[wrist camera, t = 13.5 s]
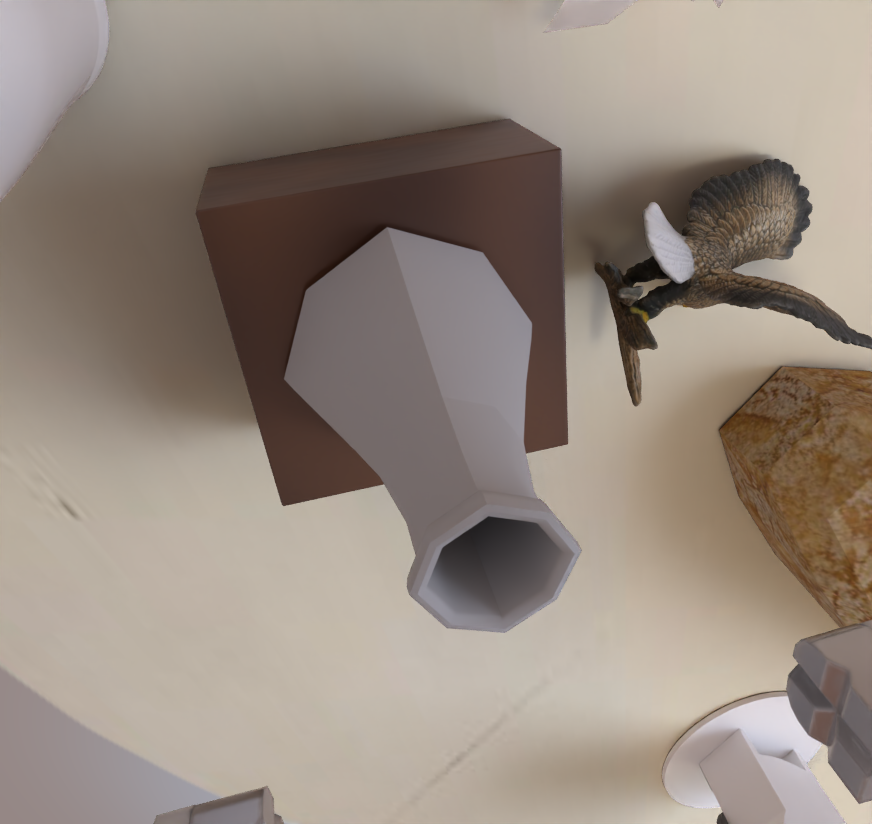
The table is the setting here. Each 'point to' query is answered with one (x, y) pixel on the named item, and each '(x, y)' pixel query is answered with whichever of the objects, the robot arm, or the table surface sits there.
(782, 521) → the brown rock
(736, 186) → the eagle figurine
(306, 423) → the walnut block
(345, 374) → the flask
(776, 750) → the panda figurine
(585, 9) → the white bird figurine
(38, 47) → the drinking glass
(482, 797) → the table surface
